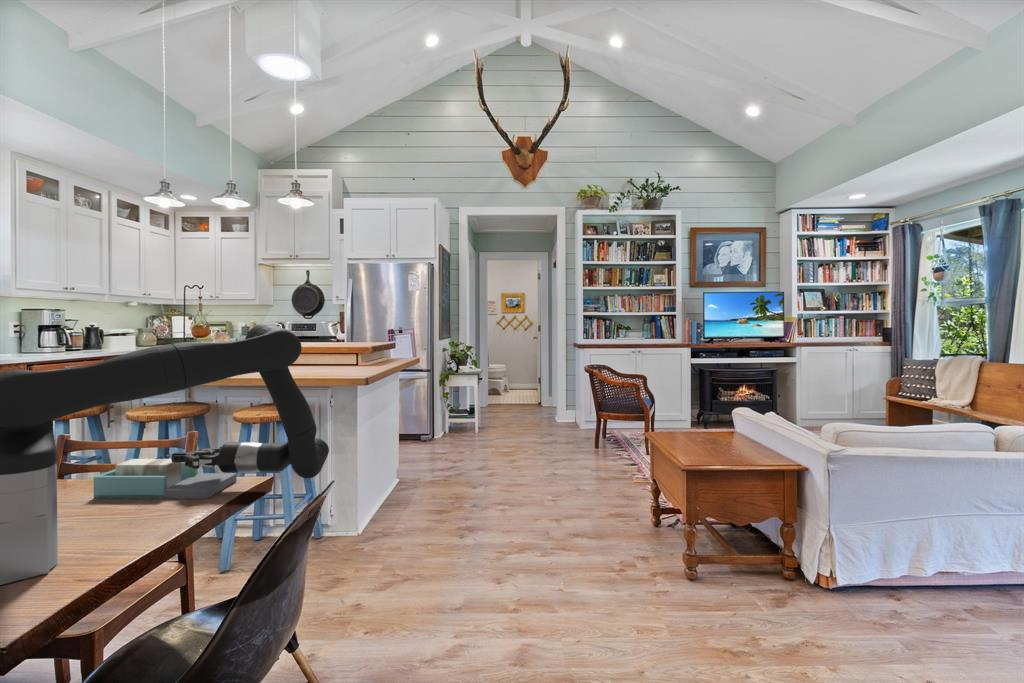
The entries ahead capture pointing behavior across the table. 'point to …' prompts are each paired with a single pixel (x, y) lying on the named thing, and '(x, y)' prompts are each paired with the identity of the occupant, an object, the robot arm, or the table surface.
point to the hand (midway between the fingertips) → (173, 457)
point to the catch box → (135, 484)
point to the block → (151, 469)
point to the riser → (200, 485)
